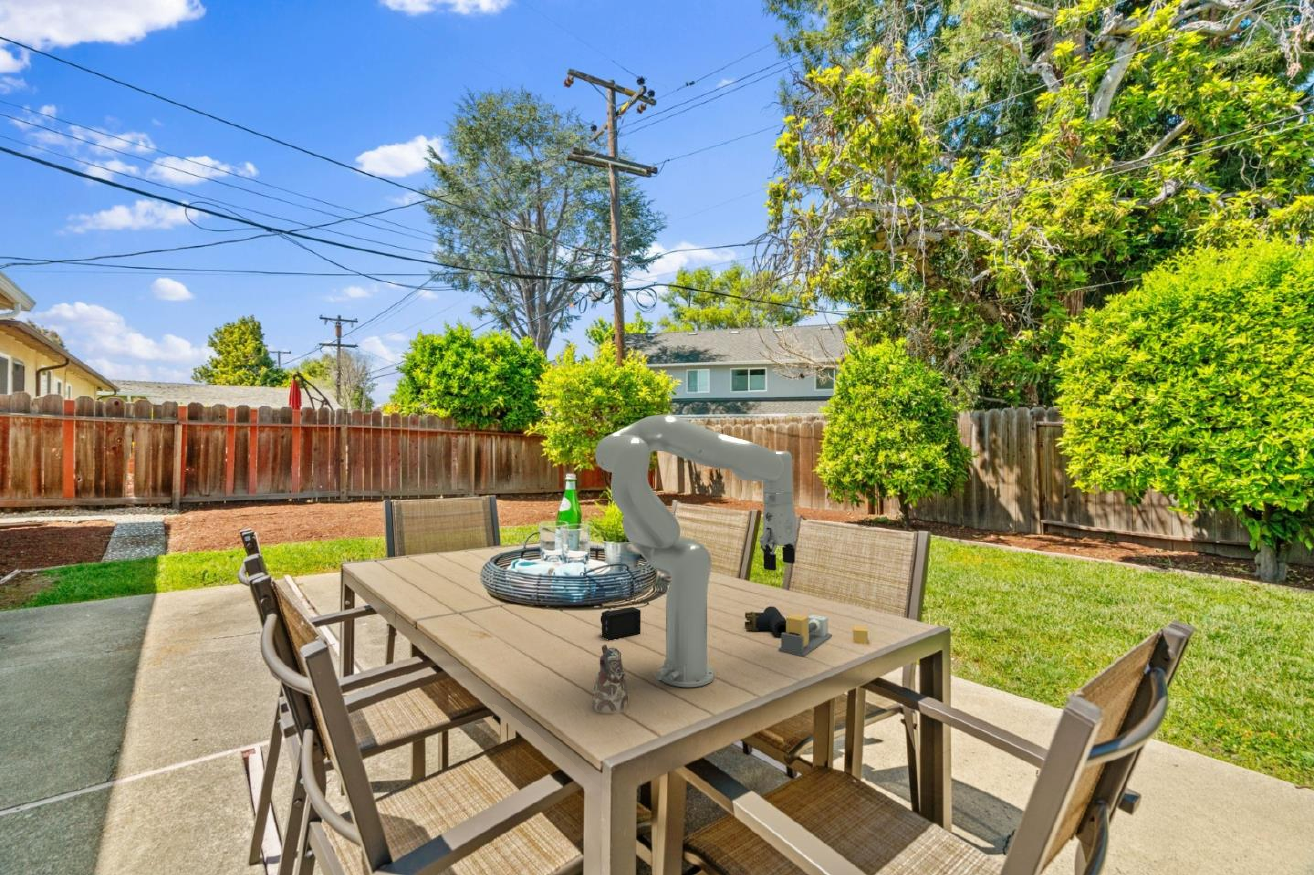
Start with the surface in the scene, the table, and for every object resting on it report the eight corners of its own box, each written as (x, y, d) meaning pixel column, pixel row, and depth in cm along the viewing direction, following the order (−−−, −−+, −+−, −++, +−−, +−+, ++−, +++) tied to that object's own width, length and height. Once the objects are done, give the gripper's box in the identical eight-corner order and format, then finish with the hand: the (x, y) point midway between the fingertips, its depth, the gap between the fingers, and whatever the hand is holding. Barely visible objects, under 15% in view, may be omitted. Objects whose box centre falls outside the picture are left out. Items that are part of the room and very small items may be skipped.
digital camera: (630, 629, 170) (630, 605, 170) (640, 634, 165) (640, 609, 165) (599, 636, 164) (599, 611, 164) (609, 641, 159) (609, 615, 160)
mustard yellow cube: (867, 644, 157) (867, 631, 158) (853, 643, 158) (853, 630, 159) (866, 639, 162) (866, 626, 162) (852, 638, 163) (852, 625, 163)
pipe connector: (750, 619, 162) (742, 605, 177) (750, 638, 162) (741, 622, 177) (791, 620, 163) (779, 605, 178) (791, 639, 163) (779, 623, 178)
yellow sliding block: (802, 648, 150) (801, 620, 150) (786, 645, 153) (786, 617, 153) (808, 644, 153) (808, 616, 154) (792, 640, 156) (792, 613, 156)
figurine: (604, 717, 114) (604, 656, 114) (586, 704, 120) (586, 646, 120) (634, 708, 118) (634, 648, 118) (616, 696, 124) (616, 639, 124)
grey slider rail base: (804, 656, 148) (804, 636, 148) (778, 650, 152) (778, 630, 152) (832, 636, 164) (832, 617, 164) (808, 631, 168) (808, 613, 168)
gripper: (774, 503, 139) (776, 574, 139) (806, 496, 153) (808, 562, 153) (747, 501, 144) (749, 570, 144) (781, 495, 158) (782, 558, 157)
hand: (779, 566), depth 148 cm, fingers open, 9 cm apart
